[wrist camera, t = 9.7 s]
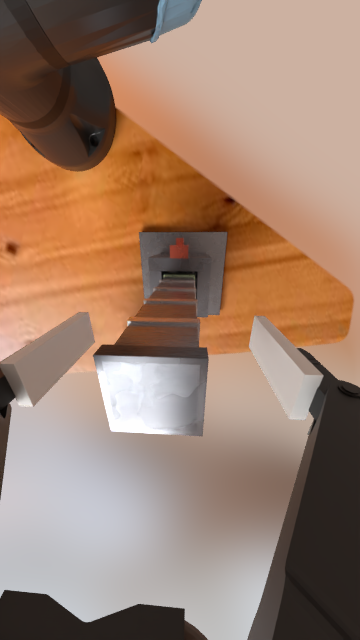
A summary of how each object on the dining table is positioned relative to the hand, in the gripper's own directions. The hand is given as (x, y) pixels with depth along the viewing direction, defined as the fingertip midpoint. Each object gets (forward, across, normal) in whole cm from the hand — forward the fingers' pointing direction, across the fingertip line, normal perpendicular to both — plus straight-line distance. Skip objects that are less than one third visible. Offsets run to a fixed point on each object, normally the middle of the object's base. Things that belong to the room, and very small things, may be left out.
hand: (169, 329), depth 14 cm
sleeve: (+25, 0, 0) cm, 25 cm away
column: (+15, 0, 0) cm, 15 cm away
